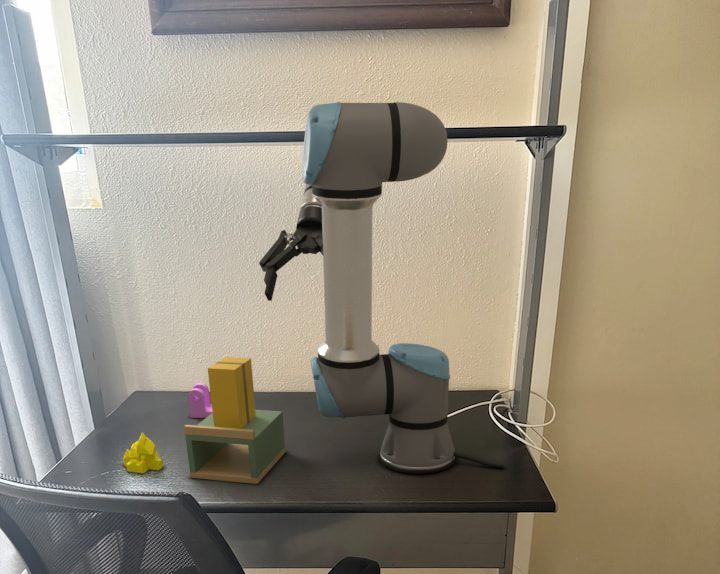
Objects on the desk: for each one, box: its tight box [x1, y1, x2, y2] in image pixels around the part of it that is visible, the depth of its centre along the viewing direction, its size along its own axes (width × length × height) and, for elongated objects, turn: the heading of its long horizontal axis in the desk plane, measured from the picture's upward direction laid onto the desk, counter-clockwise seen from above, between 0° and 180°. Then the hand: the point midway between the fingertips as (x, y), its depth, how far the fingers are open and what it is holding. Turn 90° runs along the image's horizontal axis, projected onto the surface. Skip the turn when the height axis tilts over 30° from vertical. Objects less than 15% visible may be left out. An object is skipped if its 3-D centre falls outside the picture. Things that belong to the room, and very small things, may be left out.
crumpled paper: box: [122, 431, 164, 474], centre depth 141 cm, size 6×8×8 cm
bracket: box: [187, 382, 213, 419], centre depth 170 cm, size 13×6×7 cm, turn 87°
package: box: [207, 356, 256, 429], centre depth 137 cm, size 6×8×12 cm
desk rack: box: [183, 409, 286, 485], centre depth 141 cm, size 14×16×11 cm
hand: (298, 298), depth 148 cm, fingers open, 13 cm apart
